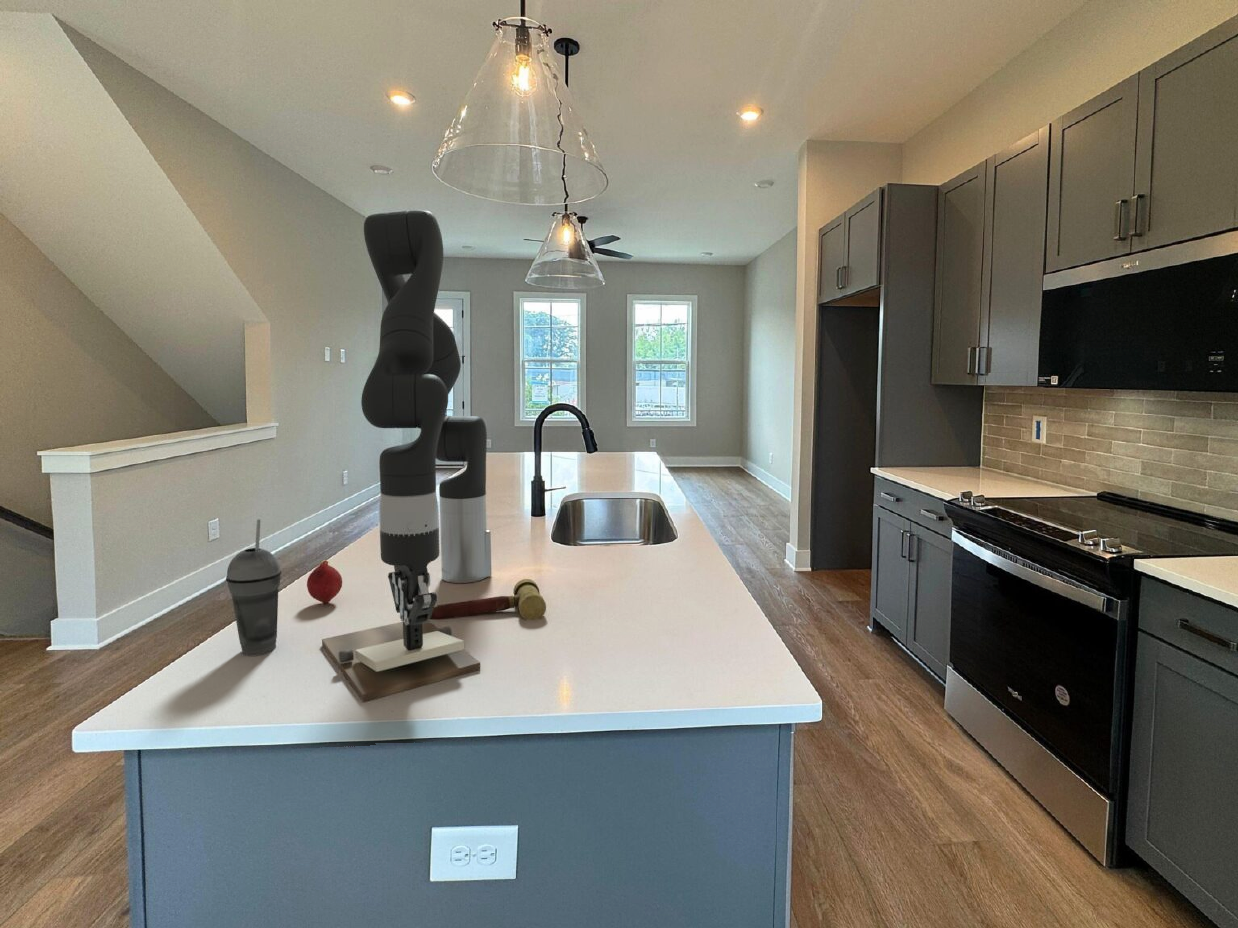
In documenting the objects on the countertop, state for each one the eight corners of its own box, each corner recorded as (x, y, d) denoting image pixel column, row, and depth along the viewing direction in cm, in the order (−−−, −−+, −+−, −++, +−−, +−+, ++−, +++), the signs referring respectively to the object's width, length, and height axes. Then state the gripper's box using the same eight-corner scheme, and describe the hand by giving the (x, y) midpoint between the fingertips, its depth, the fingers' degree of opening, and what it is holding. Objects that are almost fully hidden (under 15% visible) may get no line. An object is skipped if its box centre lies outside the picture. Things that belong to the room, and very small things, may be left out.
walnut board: (424, 622, 110) (423, 606, 109) (480, 669, 92) (480, 650, 92) (322, 645, 100) (321, 627, 100) (363, 701, 83) (362, 680, 82)
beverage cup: (245, 640, 102) (236, 514, 99) (294, 639, 102) (286, 514, 100) (221, 660, 95) (211, 525, 92) (273, 658, 95) (264, 524, 93)
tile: (463, 640, 91) (464, 650, 91) (437, 630, 99) (438, 639, 99) (375, 662, 84) (376, 672, 84) (355, 649, 92) (356, 659, 92)
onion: (329, 609, 116) (327, 565, 115) (300, 607, 117) (298, 563, 116) (349, 599, 121) (347, 557, 120) (321, 596, 122) (319, 555, 121)
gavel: (417, 612, 106) (419, 593, 116) (420, 639, 107) (422, 617, 117) (545, 593, 112) (537, 576, 121) (547, 619, 112) (539, 600, 122)
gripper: (455, 531, 84) (458, 658, 87) (420, 511, 94) (423, 625, 97) (397, 540, 79) (401, 673, 82) (366, 518, 90) (371, 637, 93)
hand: (413, 647), depth 90 cm, fingers closed
